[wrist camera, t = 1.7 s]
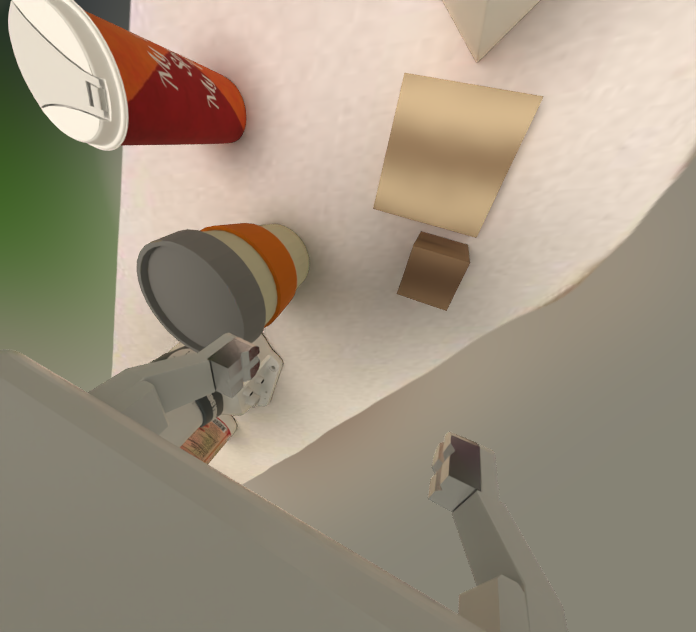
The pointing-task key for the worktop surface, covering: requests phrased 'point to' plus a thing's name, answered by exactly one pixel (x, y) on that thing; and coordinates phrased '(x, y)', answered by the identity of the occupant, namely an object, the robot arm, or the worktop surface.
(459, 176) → the oak plinth
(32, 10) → the coffee cup
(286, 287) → the reusable coffee cup
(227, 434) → the fruit juice
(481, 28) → the milk
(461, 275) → the walnut cube
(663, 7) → the worktop surface
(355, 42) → the worktop surface
